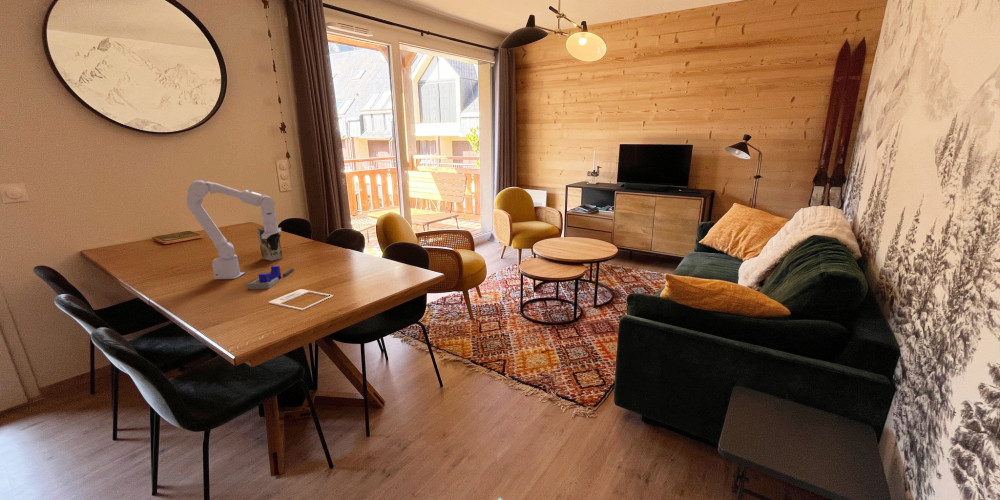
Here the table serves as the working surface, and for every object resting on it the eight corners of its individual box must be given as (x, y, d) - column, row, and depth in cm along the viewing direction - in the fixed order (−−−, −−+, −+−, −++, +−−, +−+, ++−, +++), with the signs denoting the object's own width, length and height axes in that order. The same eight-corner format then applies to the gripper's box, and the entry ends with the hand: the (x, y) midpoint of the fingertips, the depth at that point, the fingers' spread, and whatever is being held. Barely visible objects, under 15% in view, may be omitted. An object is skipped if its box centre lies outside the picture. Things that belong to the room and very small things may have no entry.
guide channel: (266, 276, 182) (266, 274, 181) (275, 271, 189) (275, 268, 189) (285, 276, 182) (285, 273, 182) (293, 270, 190) (293, 268, 189)
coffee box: (283, 258, 211) (278, 228, 206) (271, 261, 205) (265, 230, 201) (273, 255, 215) (268, 226, 211) (261, 258, 210) (256, 228, 206)
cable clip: (271, 278, 180) (269, 265, 178) (281, 278, 180) (279, 265, 179) (257, 288, 168) (254, 274, 167) (268, 287, 169) (265, 274, 167)
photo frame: (300, 288, 165) (333, 294, 158) (301, 291, 166) (333, 297, 158) (268, 301, 152) (302, 309, 145) (268, 304, 153) (302, 311, 146)
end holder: (248, 289, 167) (247, 283, 166) (259, 281, 175) (258, 276, 175) (268, 288, 167) (267, 283, 167) (278, 281, 176) (278, 276, 175)
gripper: (271, 224, 180) (275, 253, 184) (286, 218, 194) (290, 245, 198) (254, 225, 180) (260, 254, 183) (271, 219, 194) (275, 246, 197)
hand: (274, 249), depth 191 cm, fingers closed
